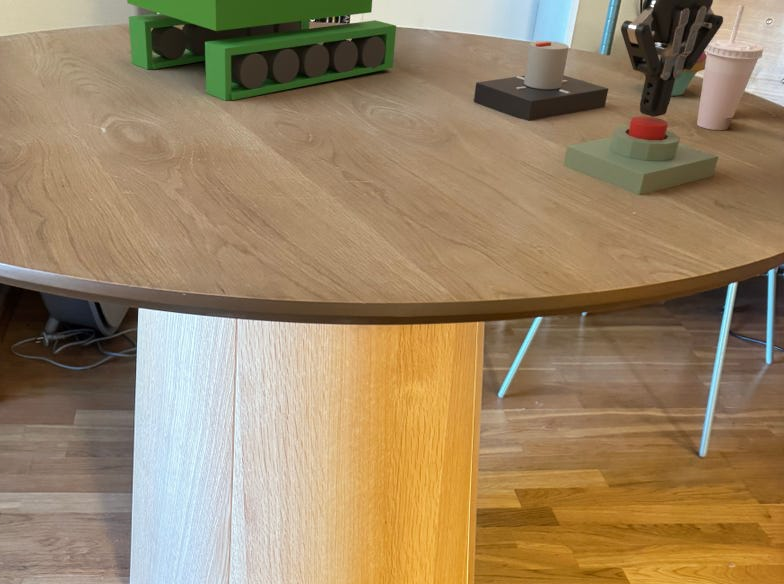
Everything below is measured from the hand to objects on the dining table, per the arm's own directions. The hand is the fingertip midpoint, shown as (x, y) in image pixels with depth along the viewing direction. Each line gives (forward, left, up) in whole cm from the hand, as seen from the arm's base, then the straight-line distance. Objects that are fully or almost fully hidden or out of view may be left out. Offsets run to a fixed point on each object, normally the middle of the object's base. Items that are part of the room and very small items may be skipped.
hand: (652, 113), depth 91 cm
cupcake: (-32, -21, -6) cm, 38 cm away
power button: (0, 0, -2) cm, 2 cm away
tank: (+10, -57, -6) cm, 58 cm away
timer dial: (-10, -24, -3) cm, 26 cm away
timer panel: (-10, -24, -6) cm, 26 cm away
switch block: (0, 0, -6) cm, 6 cm away
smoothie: (-23, -7, -6) cm, 24 cm away
